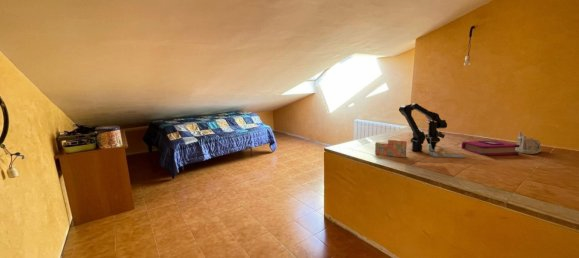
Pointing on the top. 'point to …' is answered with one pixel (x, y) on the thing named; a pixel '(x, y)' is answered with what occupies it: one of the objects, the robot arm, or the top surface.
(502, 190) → the top surface
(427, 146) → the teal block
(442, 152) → the maple block
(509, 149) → the book
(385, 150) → the stack of blocks
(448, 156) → the blueprint board
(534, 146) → the ceramic cottage
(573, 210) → the top surface
